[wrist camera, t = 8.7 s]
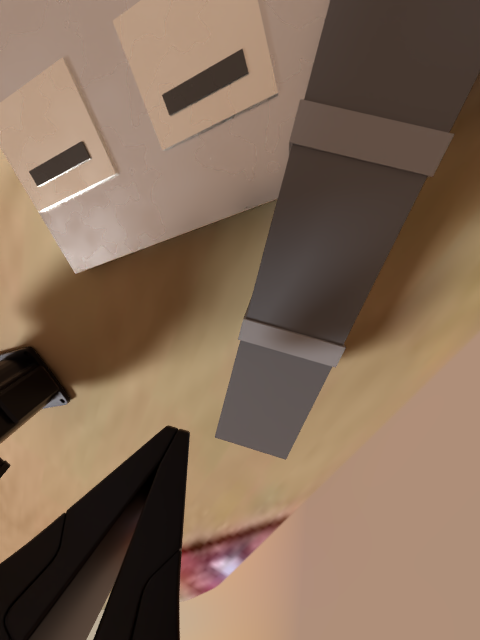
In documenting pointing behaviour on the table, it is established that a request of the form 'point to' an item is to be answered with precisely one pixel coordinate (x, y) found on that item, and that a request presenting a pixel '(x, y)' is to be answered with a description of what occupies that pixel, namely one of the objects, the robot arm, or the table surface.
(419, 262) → the table surface
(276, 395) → the bar
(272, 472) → the table surface
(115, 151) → the panel
